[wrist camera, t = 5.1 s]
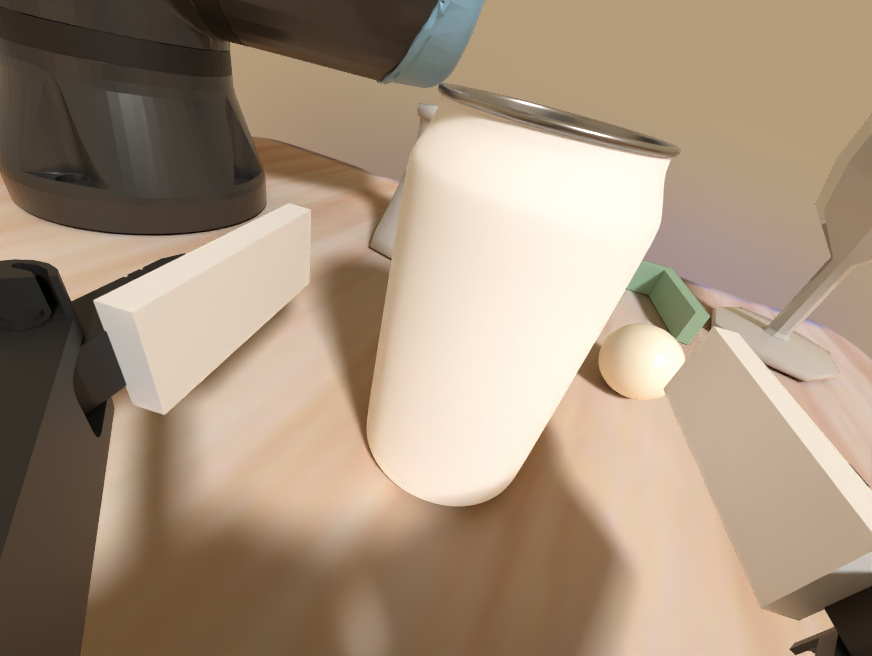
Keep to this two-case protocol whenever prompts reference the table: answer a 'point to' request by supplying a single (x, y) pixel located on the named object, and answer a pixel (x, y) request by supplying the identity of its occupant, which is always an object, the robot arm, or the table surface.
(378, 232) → the flask
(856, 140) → the wineglass
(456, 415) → the can
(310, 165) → the table surface
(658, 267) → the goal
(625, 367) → the ball
